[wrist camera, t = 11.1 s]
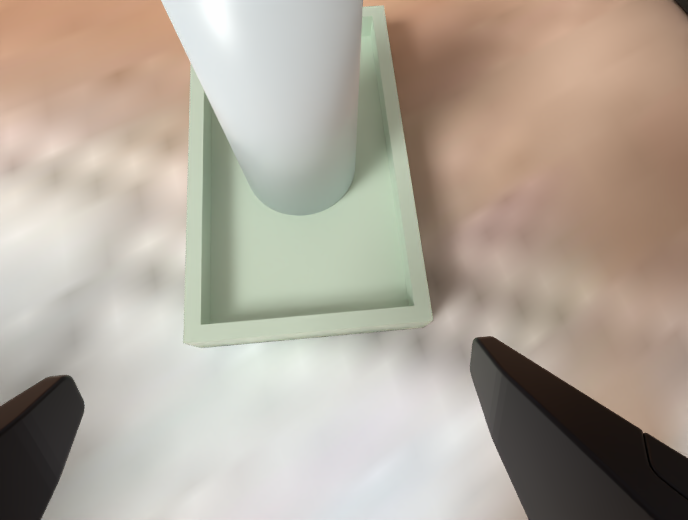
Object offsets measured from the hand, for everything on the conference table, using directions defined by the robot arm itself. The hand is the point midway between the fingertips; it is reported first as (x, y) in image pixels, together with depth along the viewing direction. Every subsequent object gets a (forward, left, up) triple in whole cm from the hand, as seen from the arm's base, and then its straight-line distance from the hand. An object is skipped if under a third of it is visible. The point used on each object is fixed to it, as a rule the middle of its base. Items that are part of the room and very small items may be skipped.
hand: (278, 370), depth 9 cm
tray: (+4, -11, -13) cm, 17 cm away
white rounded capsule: (+4, -11, -11) cm, 17 cm away
